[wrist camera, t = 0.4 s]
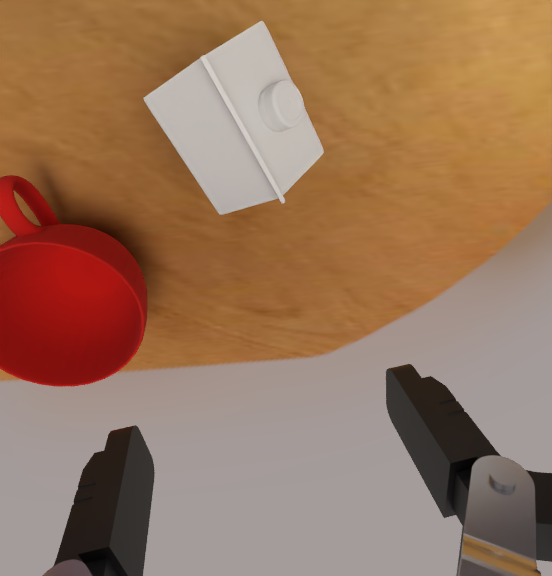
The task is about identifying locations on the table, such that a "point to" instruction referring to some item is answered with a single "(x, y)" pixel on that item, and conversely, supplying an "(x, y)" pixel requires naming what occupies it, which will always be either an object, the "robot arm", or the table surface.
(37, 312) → the ceramic cup
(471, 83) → the table surface
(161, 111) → the milk carton
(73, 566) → the robot arm
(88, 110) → the table surface
